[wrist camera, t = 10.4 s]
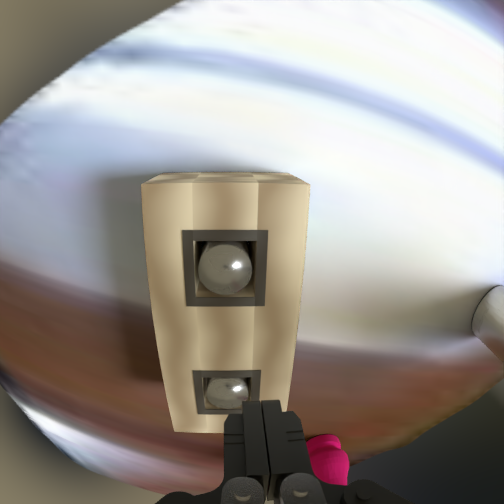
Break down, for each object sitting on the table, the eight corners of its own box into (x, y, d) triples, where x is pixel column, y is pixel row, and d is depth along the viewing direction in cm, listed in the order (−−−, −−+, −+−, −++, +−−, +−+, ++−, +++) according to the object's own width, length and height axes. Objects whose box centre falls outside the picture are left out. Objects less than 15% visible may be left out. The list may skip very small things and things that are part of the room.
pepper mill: (295, 457, 45) (316, 555, 26) (304, 433, 43) (332, 542, 24) (334, 453, 46) (363, 545, 27) (346, 429, 44) (383, 530, 25)
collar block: (289, 173, 29) (310, 184, 22) (274, 383, 38) (283, 430, 31) (162, 172, 28) (140, 184, 21) (180, 384, 37) (174, 432, 30)
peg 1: (246, 219, 30) (252, 245, 23) (245, 258, 32) (251, 294, 24) (204, 219, 30) (197, 245, 23) (205, 258, 31) (199, 294, 24)
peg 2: (244, 333, 35) (248, 380, 27) (243, 360, 36) (247, 408, 29) (208, 333, 34) (205, 380, 27) (209, 361, 36) (207, 408, 28)
